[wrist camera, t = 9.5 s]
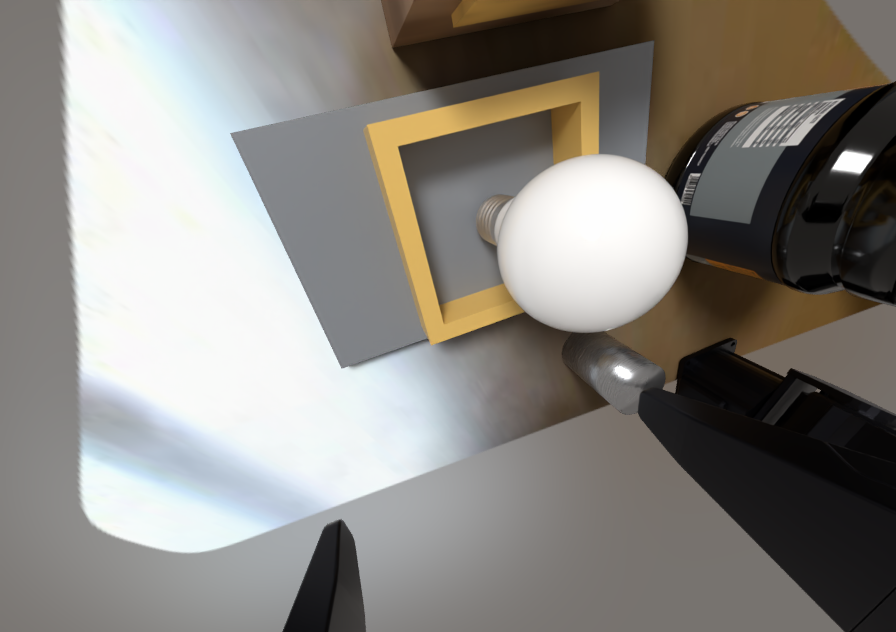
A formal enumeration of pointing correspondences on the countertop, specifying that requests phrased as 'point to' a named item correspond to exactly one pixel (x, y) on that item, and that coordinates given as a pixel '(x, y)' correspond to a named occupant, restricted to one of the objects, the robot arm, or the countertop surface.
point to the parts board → (431, 190)
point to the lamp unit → (469, 16)
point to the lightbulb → (588, 242)
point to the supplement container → (797, 192)
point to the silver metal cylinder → (612, 368)
